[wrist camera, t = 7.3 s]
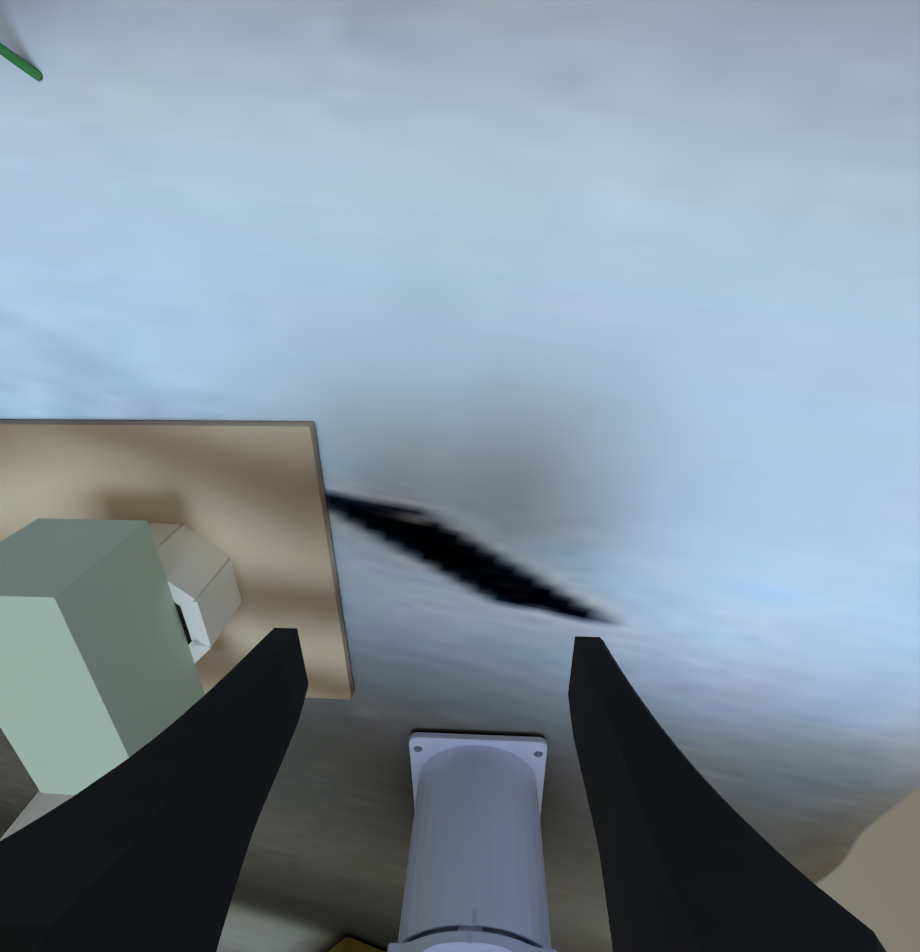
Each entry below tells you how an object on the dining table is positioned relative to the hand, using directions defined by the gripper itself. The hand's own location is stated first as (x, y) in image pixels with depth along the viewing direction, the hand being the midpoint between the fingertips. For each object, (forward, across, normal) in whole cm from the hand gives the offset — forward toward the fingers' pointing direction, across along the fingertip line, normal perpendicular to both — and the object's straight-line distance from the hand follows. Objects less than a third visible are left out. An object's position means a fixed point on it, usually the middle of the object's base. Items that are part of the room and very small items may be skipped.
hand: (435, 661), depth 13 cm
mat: (+10, +14, +5) cm, 18 cm away
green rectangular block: (+6, +14, +5) cm, 16 cm away
